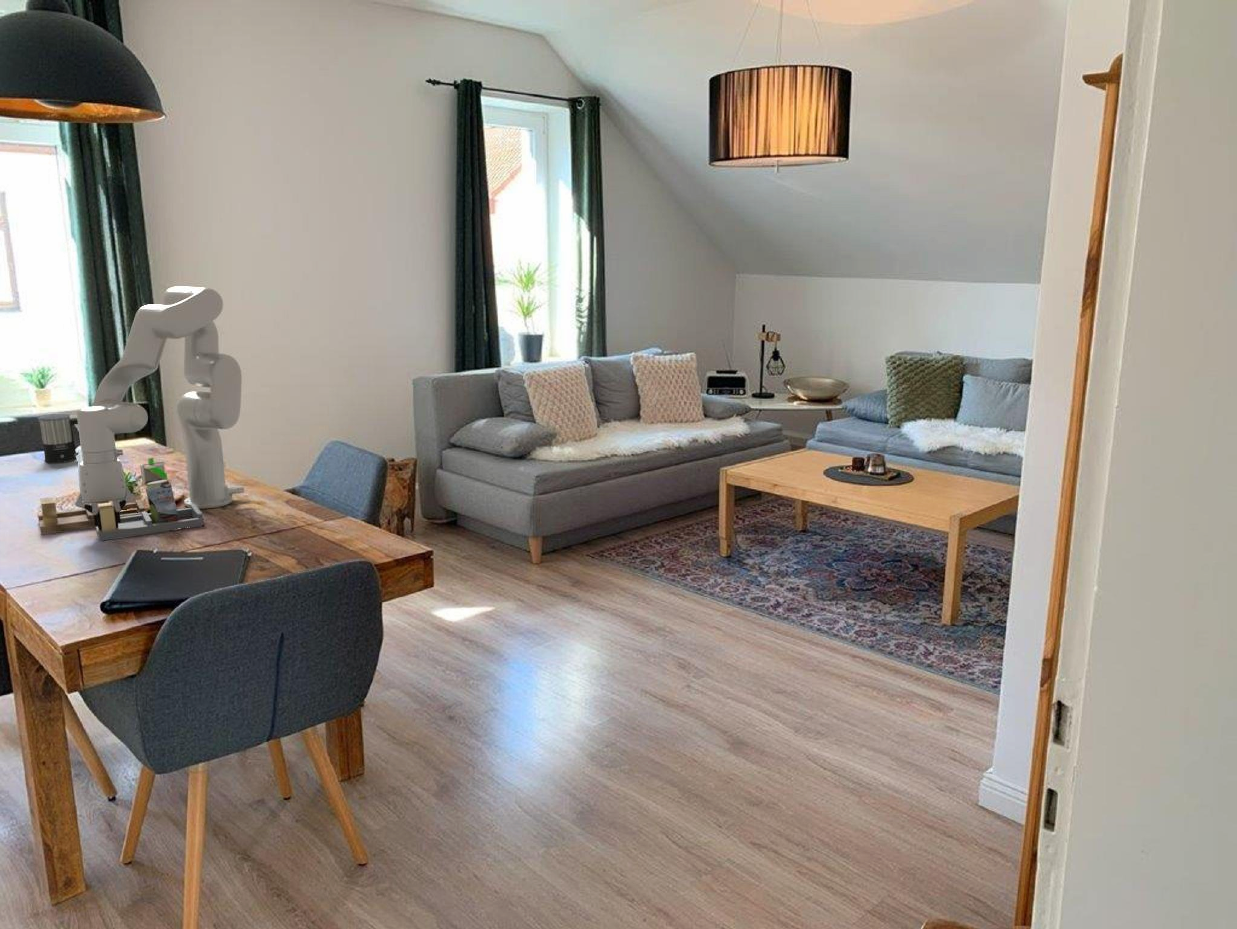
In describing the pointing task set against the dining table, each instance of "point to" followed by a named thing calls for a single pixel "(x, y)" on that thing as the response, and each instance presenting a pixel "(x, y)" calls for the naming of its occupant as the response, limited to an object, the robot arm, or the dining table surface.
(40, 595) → the dining table surface
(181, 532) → the dining table surface
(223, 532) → the dining table surface
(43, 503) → the plank with end posts
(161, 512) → the grey printed packet
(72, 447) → the milk frother
